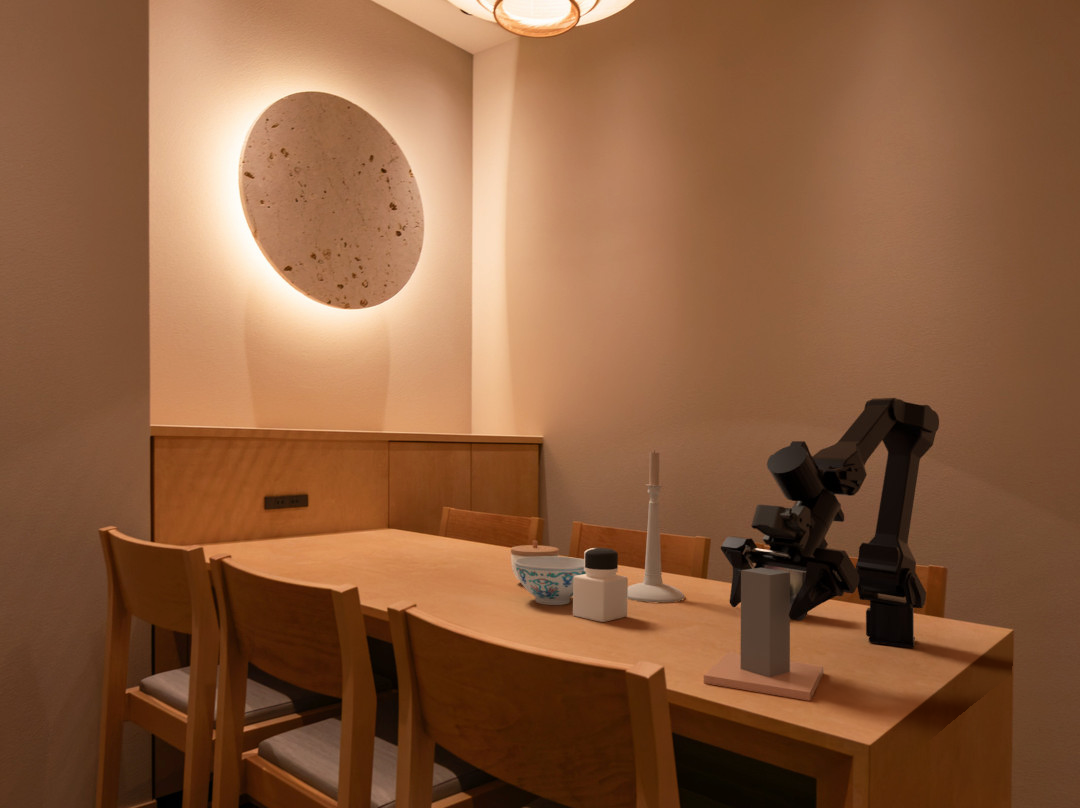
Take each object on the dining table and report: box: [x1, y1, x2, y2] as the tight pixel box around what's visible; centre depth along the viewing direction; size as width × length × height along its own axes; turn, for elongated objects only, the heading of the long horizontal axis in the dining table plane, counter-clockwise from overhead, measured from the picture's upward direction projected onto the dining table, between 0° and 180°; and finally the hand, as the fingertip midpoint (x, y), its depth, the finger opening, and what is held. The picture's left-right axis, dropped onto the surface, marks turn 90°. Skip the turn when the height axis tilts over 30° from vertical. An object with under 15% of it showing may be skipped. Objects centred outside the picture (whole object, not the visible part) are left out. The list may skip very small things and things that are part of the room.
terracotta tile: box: [703, 651, 824, 702], centre depth 99 cm, size 13×13×1 cm
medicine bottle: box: [572, 547, 629, 623], centre depth 134 cm, size 7×7×12 cm
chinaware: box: [515, 556, 586, 606], centre depth 146 cm, size 15×15×8 cm
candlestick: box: [627, 450, 685, 603], centre depth 154 cm, size 13×13×30 cm
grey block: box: [740, 568, 791, 678], centre depth 99 cm, size 4×4×13 cm
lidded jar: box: [510, 540, 560, 585], centre depth 165 cm, size 11×11×9 cm
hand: (760, 611), depth 99 cm, fingers open, 9 cm apart
